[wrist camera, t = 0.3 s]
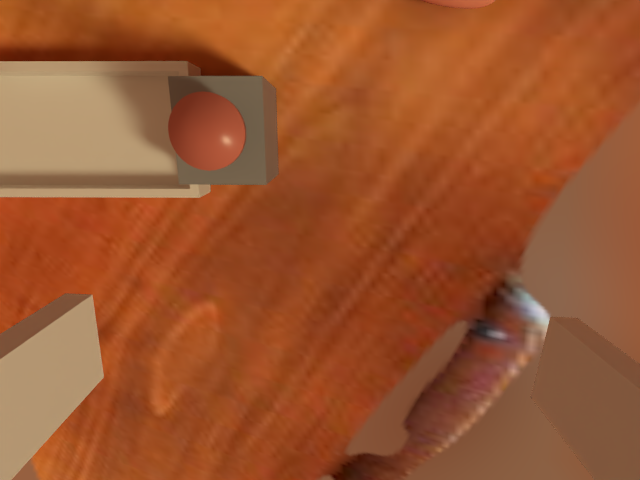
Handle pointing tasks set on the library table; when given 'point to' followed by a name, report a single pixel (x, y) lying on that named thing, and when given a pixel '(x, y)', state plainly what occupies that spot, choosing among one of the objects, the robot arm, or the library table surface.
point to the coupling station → (132, 129)
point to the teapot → (461, 3)
